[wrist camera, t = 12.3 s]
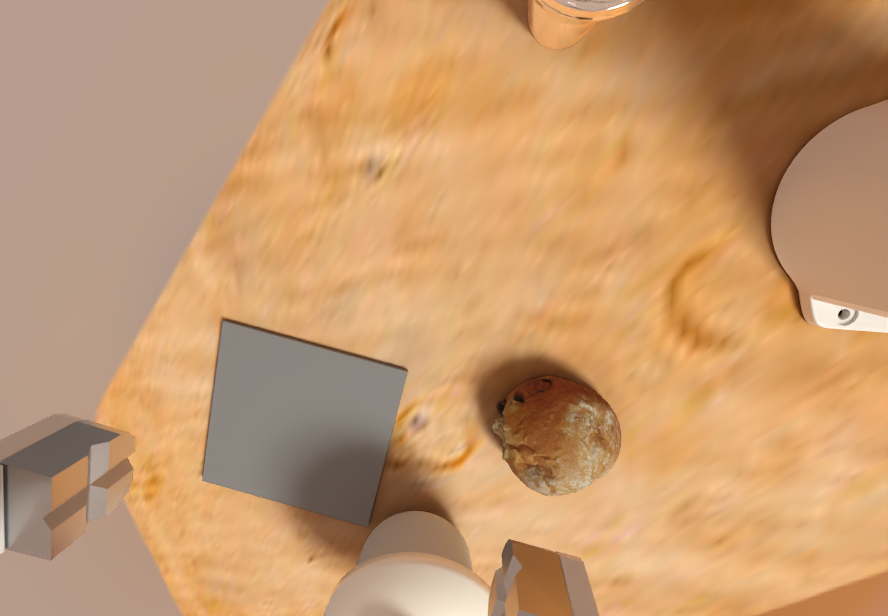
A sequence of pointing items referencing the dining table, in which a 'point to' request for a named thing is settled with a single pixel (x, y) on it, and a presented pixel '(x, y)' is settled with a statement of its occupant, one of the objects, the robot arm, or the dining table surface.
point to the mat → (300, 422)
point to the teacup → (417, 538)
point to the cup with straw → (571, 18)
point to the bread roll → (557, 435)
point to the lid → (409, 588)
